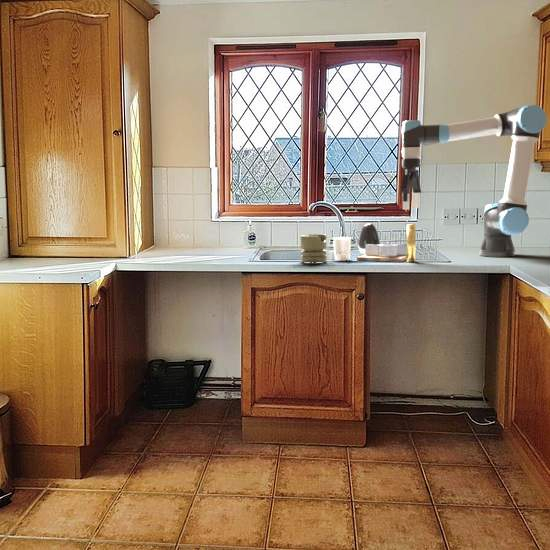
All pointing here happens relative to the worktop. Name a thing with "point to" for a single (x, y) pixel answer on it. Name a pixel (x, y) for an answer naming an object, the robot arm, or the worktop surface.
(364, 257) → the mount board
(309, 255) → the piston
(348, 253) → the white cup
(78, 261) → the worktop surface
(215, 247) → the worktop surface
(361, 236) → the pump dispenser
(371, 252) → the white piece
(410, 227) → the pin
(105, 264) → the worktop surface
